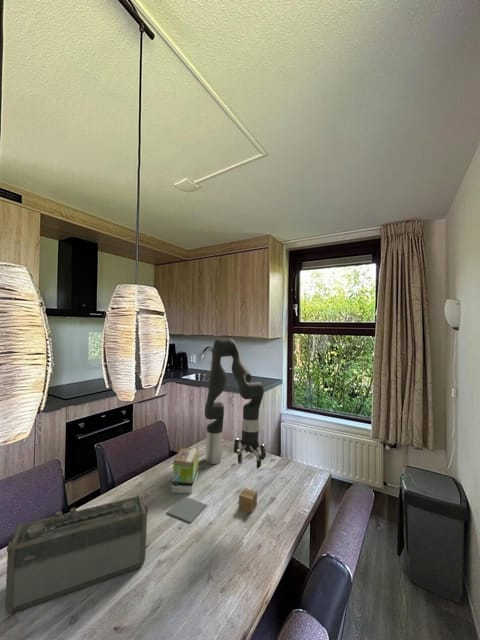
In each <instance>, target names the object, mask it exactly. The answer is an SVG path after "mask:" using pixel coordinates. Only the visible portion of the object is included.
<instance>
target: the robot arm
mask: <svg viewBox="0 0 480 640" xmlns="http://www.w3.org/2000/svg"><path fill="white" fill-rule="evenodd" d="M224 357H231V358H232V364H231V372H232V375H233V377H234V378H235V380H236V382H237V386H238V391H239V395H240V397H241V398H242V399H244V400H250V401H249V402H247V403H245V404H243V407H242V419H241V438H240V437H237V438H235V439H234V445H233V453H235V454H237V463H238V464H239V465H241V464H242V463H243V453H244V452H245V453H250V454H253V455H254V456H255V458H256V469H258V470H259V469H260V467H262V460H263V461H264V460H265V458H266V457H267V456H266V455H267V453H266V452H267V451H266V443H260V442H259V441H260V440H259V438H260V437H259V435H260V418H259V417H260V407H261V404H262V401H263V398H264V397H263V396H264V393H265V392H264V385H263V384H262V383H261V382H260V381H252V373H251V372H250V371H249V370H248V368H247V366H246V365H245V363H244V361H243V358H242V356H241V354H240V351H239V349H238V346H237V344H236V343H235V341H234V340H233V339H232V338H220V339H216V340H214V342H213V346H212V357H211V358H212V362H211V371H210V376H209V383H208V391H207V397H206V402H205V407H204V417H205V419H206V420H214V421H212V422H210V423H208V424H207V426H206V436H205V437H206V441H205V462H206V464H211V465H216V464H217V465H218V464H220V463H221V462H222V458H223V427H224V416H225V406H224V403H223V402H221V401H220V402H219V401H218V402H215V401H216V400H217V398H218V397H219V396H220V395H221V394H222V393H223V392H224V390H225V388H226V385H227V380H228V376H227V373H226V371H225V369H224V368H223V366H222V363H221V359H222V358H224ZM239 444H241V447H240V445H239ZM239 447H240V449H239Z"/></svg>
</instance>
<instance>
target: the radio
mask: <svg viewBox="0 0 480 640" xmlns="http://www.w3.org/2000/svg"><path fill="white" fill-rule="evenodd" d="M148 510H149V509H148V507H147V505H146V504H145V502H144V498H143V496H142V495H140V494H138V495H137V496H134V497H132V496H131V497H129V498H125V499H121V500H116V501H114V502H113V501H112V502H108V503H104V504H101V505H97V506H93V507H89V508H84V509H79V510H77V508H76V507H72V508H70V510H69V512H68V513H63V512H62V511H61V510H59V511H57V512H55V515H54V516H52V517H51V516H50V517H47V518H42V519H39V520H34V521H31V522H27V523H24V522H22V523H20V524H19V525H17V527H16V529H15V530H14V535H13V537H12V540H11V541H9V542H8V543H7V547H6V552H7V561H6V562H7V563H6V579H5V580H6V583H5V600H4V602H5V603H4V604H5V605H4V606H5V607H4V608H5V610H6V613H7V614H9V613H10V612H13V613H15V612H14V611H16V612H18V611H17V610H19V609H21V610H23V609H22V608H24V609H26V608H25V607H27V608H29V607H28V606H30V607H32V606H35V605H38V604H40V602H41V603H43V601H44V602H45V601H46V602H47V601H48V600H51V599H54V598H57V596H58V597H60V596H64V595H66V594H68V593H71V591H72V592H73V591H76V590H80V589H82V588H85V587H88V586H91V585H93V584H96V583H99V582H102V581H105V580H108V579H110V578H114V577H116V576H119V575H122V574H124V573H127V572H130V571H133V570H135V569H138V568H141V567H142V566H143V565H144V563H145V561H146V554H147V553H146V551H147V547H146V546H147V528H148V527H147V525H148V524H147V523H148V513H149V511H148ZM37 603H38V604H37ZM34 604H35V605H34ZM31 605H32V606H31ZM19 611H20V610H19Z"/></svg>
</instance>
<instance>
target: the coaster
mask: <svg viewBox="0 0 480 640" xmlns="http://www.w3.org/2000/svg"><path fill="white" fill-rule="evenodd" d="M207 507H208V504H207V503H203V502H201V501H198V500H196V499H193V498H189V497H188V496H183V497H182V498H181V499H179V501H177V503H176V502H175V504H174V505H173V506H172V507H171V508H169V509H168V510H167V512H166V514H167V515H169V516H172V517H174V518H177V519H179V520H181V521H184V522H186V523H189V524H191V523H193V522H194V520H196V518H197V517H198V516H199V515H200V514H201V513H202V512H203V511H204V510H205V509H206V508H207Z"/></svg>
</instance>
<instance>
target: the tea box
mask: <svg viewBox="0 0 480 640" xmlns="http://www.w3.org/2000/svg"><path fill="white" fill-rule="evenodd" d="M199 454H200V449H199V448H195V447H194V448H192V447H180V448H179V450H178V452H177V454H176V456H175V458H174V459H173V465H172V480H171V481H172V484H171V493H176V494H177V493H179V494H192V493H193V490H194V488H195V485H196V482H197V479H198V476H199V474H198V473H199V457H200V455H199Z"/></svg>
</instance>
